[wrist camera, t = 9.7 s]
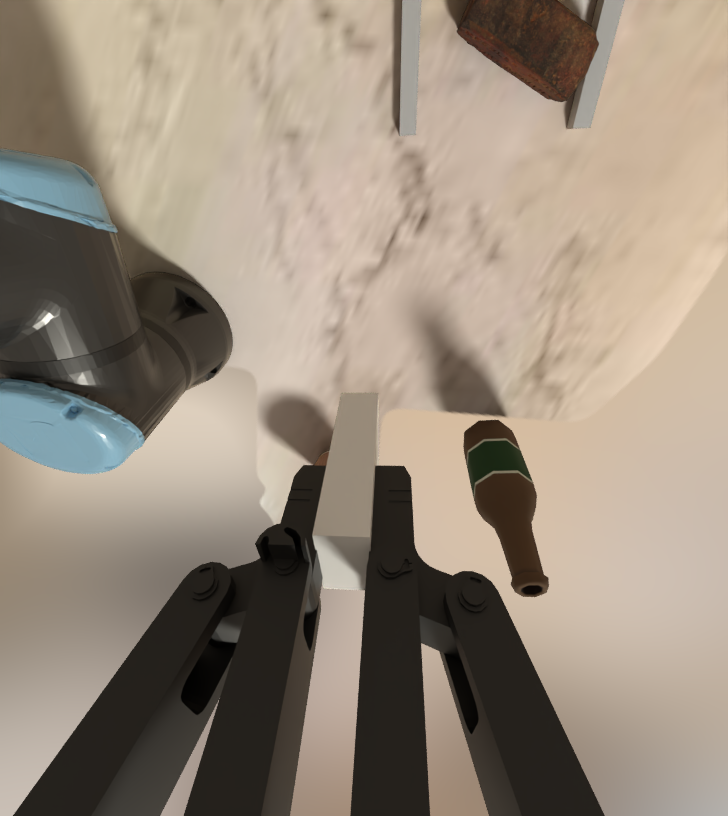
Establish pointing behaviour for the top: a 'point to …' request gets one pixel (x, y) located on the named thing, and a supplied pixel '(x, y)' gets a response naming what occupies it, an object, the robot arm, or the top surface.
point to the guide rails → (586, 91)
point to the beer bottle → (506, 500)
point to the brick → (532, 42)
